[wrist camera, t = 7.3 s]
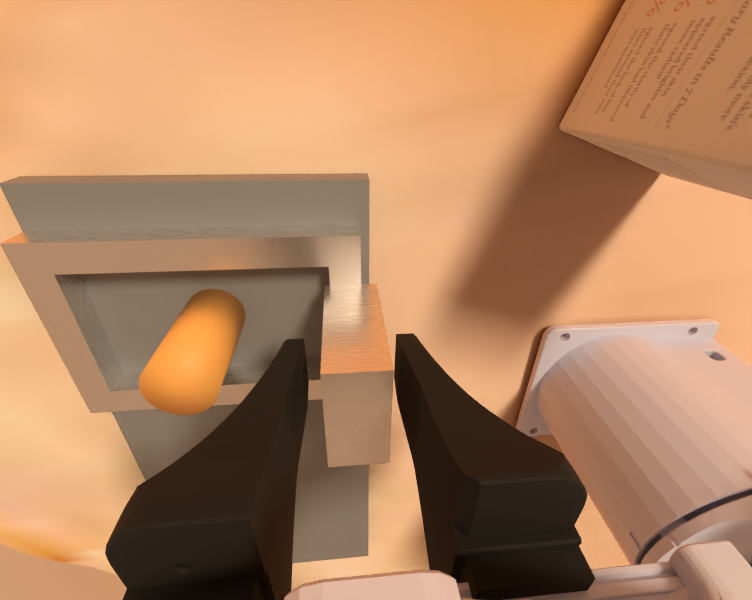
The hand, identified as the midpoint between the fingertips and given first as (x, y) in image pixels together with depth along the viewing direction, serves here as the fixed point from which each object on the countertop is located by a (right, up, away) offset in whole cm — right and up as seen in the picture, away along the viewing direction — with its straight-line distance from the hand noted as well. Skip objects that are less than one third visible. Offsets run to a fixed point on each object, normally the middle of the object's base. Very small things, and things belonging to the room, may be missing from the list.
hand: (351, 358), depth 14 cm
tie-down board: (-6, -5, +7) cm, 11 cm away
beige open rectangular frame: (-6, +1, +3) cm, 6 cm away
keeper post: (-6, +2, +3) cm, 7 cm away
